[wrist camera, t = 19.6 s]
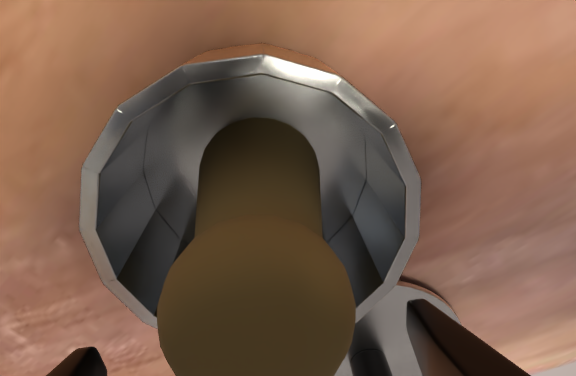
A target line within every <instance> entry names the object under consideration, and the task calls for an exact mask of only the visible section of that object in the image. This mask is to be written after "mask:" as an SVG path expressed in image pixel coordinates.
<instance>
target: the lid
mask: <svg viewBox="0 0 576 376" xmlns="http://www.w3.org/2000/svg"><path fill="white" fill-rule="evenodd" d="M421 298H423V299H426V300H427V301H429V302H430V303H431V304H433V305H434V306H435V307H437V308H438V309H440V310H441V311H442V312H444V313H445V314H446V315H448V316H449V317H451V318H452V319H453V320H455V321H456V322H458V323H459V324H460V325H461V323H460V321H459V319H458V317H457V315H456V314H455V312H454V311H453V310H452V308H451V307H450V306H449V305H448V304H447V303H446V302H445V301H444V300H443V299H442V298H441V297H439V296H438V295H436V294H435V293H433V292H432V291H430V290H427V289H425V288H423V287H421V286H418V285H414V284H411V283H408V282H401V281H398V282H397V284H396V286H394V289H392V290H391V291H390V292H389V293H388V294H387V295H386V296H385V297H384V298H383V299H382V300H381V301H379V302H378V303H377V304H376V305H375V306H374V307H373V308H372V309H371V310H370V311H369V312H368V313H367V314H365V315H364V316H363V317H362V318H361V319H360V320H359V321H358V322H357V323H355V327H354V333H353V339H352V343H351V345H350V348H349V350H348V352H347V354H346V357H345V358H344V360H343V362H342V363H341V365H340V367H339V368H338V370H337V372H336V373H335V375H334V376H422V373H421V370H420V368H419V365H418V362H417V359H416V356H415V353H414V350H413V347H412V344H411V342H410V339H409V336H408V332H407V328H406V307H407V302H408V301H409V300H414V299H421Z"/></svg>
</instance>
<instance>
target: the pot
mask: <svg viewBox="0 0 576 376" xmlns="http://www.w3.org/2000/svg"><path fill="white" fill-rule="evenodd" d="M250 117H259V118H273V119H276V120H279V121H281V122H284V123H287V124H290V125H291V126H292V127H294V128H295V129H296V130H298V131H299V132H300V133H301V134H303V135H304V136H305V137H306V138H307V140H308V141H309V143H310V144H311V146H312V147H313V149H314V151H315V153H316V157H317V161H318V165H319V169H320V192H321V215H322V238H323V239H324V240H325V242H326V243H327V244H328V245H329V246H330V248H331V249H332V250H333V252H334V253H335V254H336V256H337V257H338V258H339V260H340V261H341V262H342V264H343V265H344V267H345V269H346V272H347V275H348V277H349V280H350V284H351V288H352V292H353V296H354V300H355V304H356V321H355V323H357V322H358V321H359V320H360V319H361V318H362V317H363V316H364V315H365V314H367V313H368V312H369V311H370V310H371V309H372V308H373V307H374V306H375V305H376V304H377V303H378V302H379V301H381V300H382V299H383V298H384V297H385V296H386V295H387V294H388V293H389V292H390V291H391V290H392V289H394V286H396V284H397V282H398V280H399V278H400V276H401V274H402V272H403V270H404V268H405V266H406V264H407V262H408V260H409V258H410V256H411V254H412V252H413V250H414V248H415V246H416V244H417V242H418V240H419V232H420V206H421V177H420V175H419V173H418V171H417V168H416V166H415V164H414V161H413V159H412V157H411V155H410V152H409V150H408V148H407V146H406V143H405V141H404V139H403V137H402V134H401V132H400V130H399V127H398V125H397V123H396V122H395V121H394V120H393V119H392V118H391V117H390V116H388V115H387V114H386V113H385V112H384V111H383V110H381V109H380V108H379V107H378V106H377V105H376V104H374V103H373V102H372V101H371V100H370V99H368V98H367V97H366V96H365V95H364V94H363V93H361V92H360V91H359V90H358V89H357V88H355V87H354V86H353V85H352V84H351V83H350V82H348V81H347V80H346V79H345V78H344V77H343V76H341V75H340V74H338V73H337V72H335V71H334V70H333V69H331V68H330V67H328V66H327V65H325V64H324V63H323V62H321V61H320V60H318V59H316V58H314V57H311V56H307V55H304V54H301V53H297V52H294V51H292V50H289V49H284V48H280V47H276V46H273V45H269V44H266V43H257V44H250V45H240V46H233V47H228V48H221V49H214V50H208V51H205V52H204V53H202V54H200V55H198V56H196V57H195V58H193V59H191V60H189V61H187V62H186V63H184V64H182V65H180V66H179V67H177V68H176V69H174V70H172V71H171V72H169V73H168V74H166V75H165V76H163V77H161V78H160V79H158V80H157V81H155V82H154V83H152V84H151V85H149V86H147V87H146V88H144V89H143V90H141V91H140V92H138V93H137V94H135V95H133V96H132V97H130V98H129V99H127V100H126V101H124V102H122V103H121V104H119V105H118V106H117V108H115V110H114V112H113V113H112V115H111V117H110V119H109V120H108V122H107V124H106V125H105V127H104V129H103V130H102V132H101V134H100V136H99V137H98V139H97V141H96V142H95V144H94V146H93V147H92V149H91V151H90V153H89V154H88V156H87V158H86V159H85V161H84V163H83V165H82V168H81V190H80V212H79V231H80V234H81V236H82V238H83V240H84V243H85V245H86V247H87V249H88V252H89V254H90V256H91V259H92V261H93V263H94V265H95V268H96V270H97V272H98V274H99V277H100V279H101V281H102V283H103V284H104V285H105V286H106V287H107V288H108V289H109V290H110V291H111V292H112V293H113V294H114V295H115V296H116V297H117V298H118V299H119V300H120V301H121V302H122V303H123V304H125V305H126V306H127V307H128V308H129V309H130V310H131V311H132V312H133V313H134V314H135V315H136V316H137V317H138V318H139V319H140V320H141V321H142V322H144V323H146V324H147V325H150V326H152V327H154V328H156V329H158V327H157V306H158V302H159V299H160V295H161V292H162V289H163V285H164V282H165V279H166V277H167V274H168V272H169V269H170V267H171V266H172V264H173V263H174V262H175V261H176V260H177V258H178V257H179V256H180V255H181V253H182V252H183V251H184V250H185V248H186V247H187V246H188V245H189V244H190V242H191V241H192V240H193V239H194V237H195V222H196V208H197V193H198V179H199V166H200V162H201V159H202V156H203V152H204V149H205V148H206V146H207V145H208V143H209V142H210V141H211V139H212V138H213V137H214V135H215V134H216V133H217V132H219V131H220V130H222V129H223V128H225V127H226V126H228V125H229V124H231V123H233V122H236V121H240V120H243V119H247V118H250Z"/></svg>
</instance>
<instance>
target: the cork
mask: <svg viewBox="0 0 576 376" xmlns="http://www.w3.org/2000/svg"><path fill="white" fill-rule="evenodd" d="M355 321H356V304H355V300H354V296H353V292H352V288H351V284H350V280H349V277H348V275H347V272H346V269H345V267H344V265H343V264H342V262H341V261H340V260H339V258H338V257H337V256H336V254H335V253H334V252H333V250H332V249H331V248H330V246H329V245H328V244H327V243H326V242H325V240H324V239H323V238H322V215H321V192H320V169H319V165H318V161H317V157H316V153H315V151H314V149H313V147H312V146H311V144H310V143H309V141H308V140H307V138H306V137H305V136H304V135H303V134H301V133H300V132H299V131H298V130H296V129H295V128H294V127H292V126H291V125H290V124H287V123H284V122H281V121H279V120H276V119H273V118H259V117H250V118H247V119H243V120H240V121H236V122H233V123H231V124H229V125H228V126H226V127H225V128H223V129H222V130H220V131H219V132H217V133H216V134H215V135H214V137H213V138H212V139H211V141H210V142H209V143H208V145H207V146H206V148H205V149H204V152H203V156H202V159H201V162H200V166H199V179H198V193H197V208H196V222H195V237H194V239H193V240H192V241H191V242H190V244H189V245H188V246H187V247H186V248H185V250H184V251H183V252H182V253H181V255H180V256H179V257H178V258H177V260H176V261H175V262H174V263H173V264H172V266H171V267H170V269H169V272H168V274H167V277H166V279H165V282H164V285H163V289H162V292H161V295H160V299H159V302H158V306H157V327H158V334H159V341H160V347H161V349H162V351H163V353H164V356H165V358H166V360H167V362H168V364H169V365H170V367H171V368H172V370H173V372H174V373H175V375H176V376H334V375H335V373H336V372H337V370H338V368H339V367H340V365H341V363H342V362H343V360H344V358H345V357H346V354H347V352H348V350H349V348H350V345H351V343H352V339H353V333H354V327H355Z"/></svg>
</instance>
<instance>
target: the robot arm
mask: <svg viewBox="0 0 576 376" xmlns="http://www.w3.org/2000/svg"><path fill="white" fill-rule="evenodd" d="M406 328H407V332H408V336H409V339H410V342H411V344H412V347H413V350H414V353H415V356H416V359H417V362H418V365H419V368H420V370H421V373H422V376H530V375H529V374H528V373H526V372H525V371H524V370H522V369H521V368H519V367H518V366H517V365H515V364H514V363H513V362H511V361H510V360H508V359H507V358H506V357H504V356H503V355H502V354H500V353H499V352H497V351H496V350H495V349H493V348H492V347H491V346H489V345H488V344H486V343H485V342H484V341H482V340H481V339H480V338H478V337H477V336H475V335H474V334H473V333H471V332H470V331H469V330H467V329H466V328H464V327H463V326H462V325H460V324H459V323H458V322H456V321H455V320H453V319H452V318H451V317H449V316H448V315H446V314H445V313H444V312H442V311H441V310H440V309H438V308H437V307H435V306H434V305H433V304H431V303H430V302H429V301H427V300H426V299H423V298H421V299H414V300H409V301H408V302H407V307H406ZM46 376H107V369H106V366H105V364H104V362H103V360H102V358H101V356H100V354H99V352H98V350H97V349H96V348H95V347H85V348H79V349H76V350H75V351H73V352H72V353H71V354H70V355H69V356H68V357H67V358H65V359H64V360H63V361H62V362H61V363H60V364H59V365H58V366H57V367H55V368H54V369H53V370H52V371H51V372H50V373H49V374H48V375H46Z"/></svg>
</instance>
